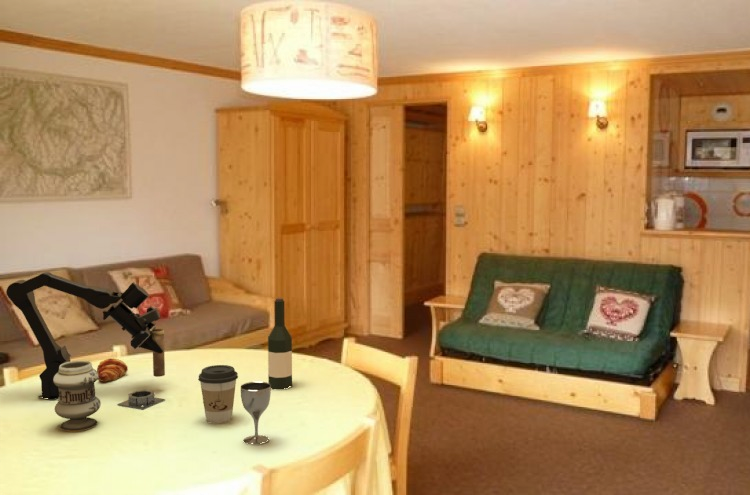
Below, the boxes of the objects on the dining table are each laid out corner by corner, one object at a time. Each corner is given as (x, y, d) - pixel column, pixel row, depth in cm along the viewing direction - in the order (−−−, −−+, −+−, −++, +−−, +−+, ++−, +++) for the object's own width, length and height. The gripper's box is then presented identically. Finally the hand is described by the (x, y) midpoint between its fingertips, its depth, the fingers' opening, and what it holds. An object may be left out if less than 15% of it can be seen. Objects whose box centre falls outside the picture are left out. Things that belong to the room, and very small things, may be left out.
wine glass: (257, 432, 198) (257, 379, 197) (277, 439, 193) (276, 385, 192) (235, 440, 192) (234, 386, 190) (255, 448, 187) (254, 392, 185)
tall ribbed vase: (152, 377, 232) (151, 331, 231) (153, 373, 236) (152, 329, 235) (164, 376, 233) (163, 331, 231) (165, 373, 237) (164, 328, 235)
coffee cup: (199, 427, 202) (198, 376, 200) (198, 414, 212) (197, 365, 211) (240, 424, 205) (239, 373, 203) (237, 411, 216) (236, 362, 214)
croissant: (112, 377, 263) (101, 358, 262) (137, 363, 264) (126, 345, 263) (96, 393, 242) (84, 373, 241) (122, 379, 243) (110, 359, 242)
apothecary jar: (56, 421, 207) (54, 360, 205) (101, 416, 211) (99, 356, 209) (54, 435, 195) (51, 371, 193) (101, 430, 200) (98, 367, 198)
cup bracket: (142, 409, 217) (142, 400, 216) (117, 405, 221) (117, 396, 220) (165, 400, 226) (164, 391, 225) (140, 396, 230) (140, 387, 229)
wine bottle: (288, 390, 236) (287, 301, 233) (264, 389, 237) (263, 300, 234) (295, 383, 244) (295, 296, 241) (272, 381, 246) (271, 295, 242)
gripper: (140, 306, 222) (177, 339, 225) (148, 295, 240) (182, 327, 244) (114, 331, 222) (152, 365, 225) (124, 319, 240) (159, 350, 243)
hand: (162, 350), depth 234 cm, fingers closed on tall ribbed vase, 4 cm apart
